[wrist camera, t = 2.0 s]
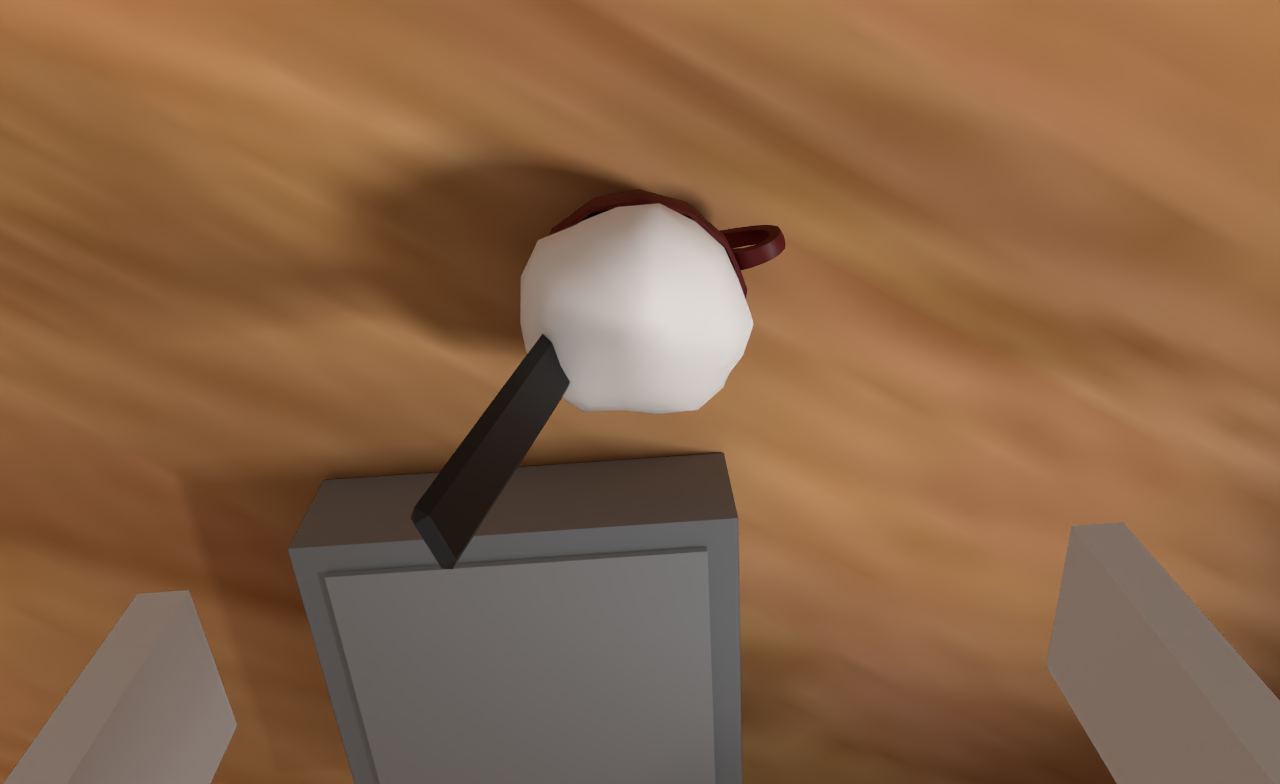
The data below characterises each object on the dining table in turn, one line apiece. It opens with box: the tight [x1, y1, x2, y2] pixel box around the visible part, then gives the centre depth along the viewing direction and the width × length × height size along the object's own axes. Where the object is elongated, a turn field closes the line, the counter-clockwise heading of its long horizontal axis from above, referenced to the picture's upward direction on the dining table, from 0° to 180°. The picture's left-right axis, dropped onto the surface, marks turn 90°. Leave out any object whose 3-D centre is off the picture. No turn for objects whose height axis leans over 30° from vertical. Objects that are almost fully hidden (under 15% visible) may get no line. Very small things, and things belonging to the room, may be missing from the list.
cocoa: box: [411, 189, 785, 569], centre depth 24 cm, size 10×6×12 cm, turn 90°
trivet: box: [288, 453, 742, 784], centre depth 33 cm, size 14×14×4 cm
